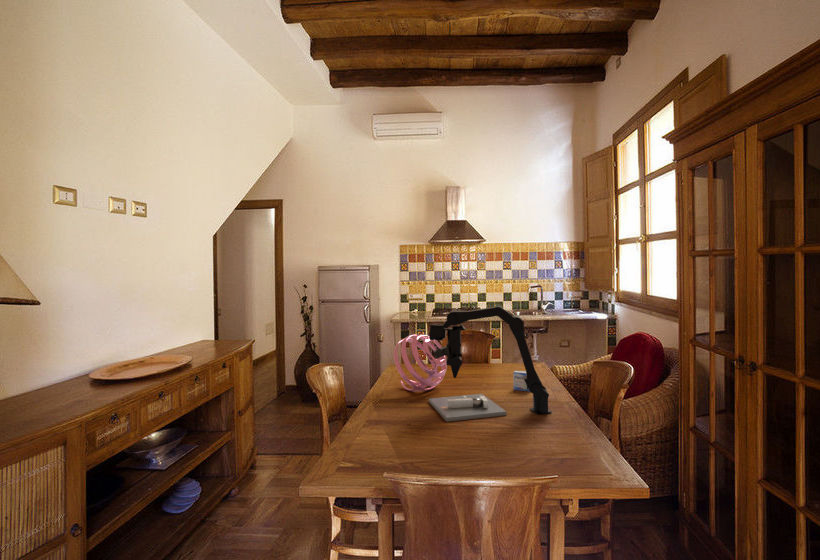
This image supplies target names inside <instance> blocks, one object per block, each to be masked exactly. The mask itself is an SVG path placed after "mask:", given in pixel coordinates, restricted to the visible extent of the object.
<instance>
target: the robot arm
mask: <svg viewBox="0 0 820 560" xmlns="http://www.w3.org/2000/svg"><path fill="white" fill-rule="evenodd" d="M492 317H498V318H499V319H500V320H502V321H503V322H505V323H506V324H507V325H508V327H509V328H510V331H511V333H512V335H513V337H514V338H515V341H516V343H517V346H518V350H519V352H520V357H521V360H522V362H523V366H524V369H525V371H526V375H525V376H523V378H524V381H525V383H526V388H527V389H528V388H529V391H530V392H529V393H530V394H532V407H530V408H529V410H530V411H532V413H535V414H536V415H544V414H553V413H552V411H551V410H550V409H549V397H550V393H549V392H548V389H547V388H546V387H545V386H544V385H543V382H542V380H541V378H540V377H539V374H538V372H537V371H536V369H535V366H534V363H533V358H532V356H531V353H530V349H529V346H528V343H527V340H526V335H525V334H526V333H525V324H524V321H523V319H522V317H521V316H519V315H514V314H512V313H511V312H509V311H508V310H506V309H505V308H503V307H502V306H501V305H497V306H496V305H495V306H493V307H491V306H490V307H486V308H478V309H473V310H461V309H460V310H458V309H457V310H456V309H455V310H454V309H453V310H451V311H449V312H448V314H447V315H446V320H445V322H443V324H433V323H432V324H430V325H429V326H430V327H429V333H428V336H429V339H430V340H436V341H438V342H439V341H444V339H447V342H446V345H445V346H442V347H441V348H436V350H434V351H433V353H434V356H435V359H438V358H440V357H443V356H445V355H446V365H447V366H450V369H451V372H452V377H453V379H457V376H458V374H459V371H460V369H461V367H462V366H463V352H462V331H463V332H464V331H466V327H465V326H464V325H463V323H466V322H469V321H473V320H479V319H481V320H482V319H485V318H492ZM451 326H452V327H451Z"/></svg>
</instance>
